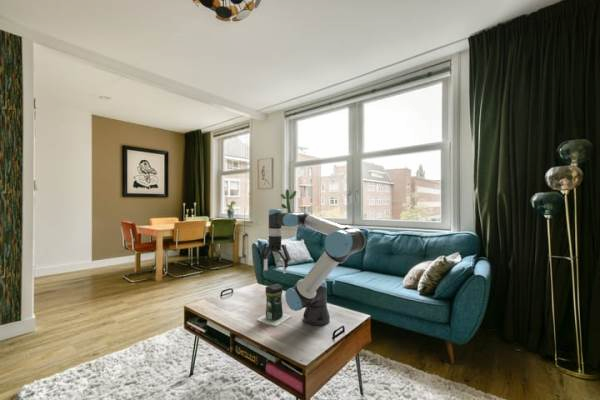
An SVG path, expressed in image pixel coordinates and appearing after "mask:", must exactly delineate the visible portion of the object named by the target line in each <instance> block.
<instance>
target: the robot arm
mask: <svg viewBox="0 0 600 400" xmlns="http://www.w3.org/2000/svg"><path fill="white" fill-rule="evenodd" d="M297 226H304V227H306V228H309V229H310V230H313V231H316V232H319V233H321V234H323V235H326V238H325V241H324V243H325V244H324V247H323V250H324V252H323V253H322V254H321V256H320V257H319V258H318V260H317V261H316V262H315V264H313V266H312V268H310V270H309V271H308V273H307V274H306V275H305V277H304V278H301V279H299V280H297V282H296V283H295V285H294V286H292V287H289V288H288V289H286V291H285V294H284V296H285V297H284V298H285V302H286V304H287V306H288V308H289V309H290V310H292V311H294V312H297V311H301V310H302V309H304V312H303V316H302V320H303V322H304V323H305V324H307V325H309V326H310V325H311V326H324V325H327V324H328V323H330V322H331V316H330V313H329V310H328V305H327V303H328V301H327V300H328V298H327V297H328V292H327V291H328V286H327V281H326V279H327V278H328V277H329V276H330V274H331V273H332V272H333V271H334V269H335V268H336V267H337V266H338V265H339V264H343V263H345V261H346V260H347V259H348V258H349V257H350V256H351V255H353V254H357V253H359V252H361V251H362V250H363V249H364V248H365V246H366V244H367V237H366V235H365V233H364V232H363V231H362V230H361V229H359V228H357V227H354V226H350V225H345V226H344V225H341V224H338V223H335V222H333V221H330V220H327V219H323V218H321V217H318V216H315V215H312V213H311V212H309V211H299V212H282V209H280V208H271V209H270V208H269V211H268V242H264V244H263V247H262V251H261V253H260V256H259V257H260V259H262V265H263V272H264V271H268V261H269V260H268V257H269V255H270V254H271V253H272V252H277V254H279V256H280V257H281V259H282V260H283V261H282V274H287V273H288V267H289V262H291V260H292V259H291V256H290V254H289V252H288V249H287V244H285V243H284V244H282V227H287V228H293V227H297Z"/></svg>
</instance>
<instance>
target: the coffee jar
mask: <svg viewBox="0 0 600 400" xmlns="http://www.w3.org/2000/svg"><path fill="white" fill-rule="evenodd" d="M282 294H283V286H282V284H280V283H275V284H271V285H268V286H266V287H265V296H266V301H265V303H266V305H265V314H266V318H267V319H268V320H276V319H279V318H281V317H282V316H283V314H284V309H283V302H282Z"/></svg>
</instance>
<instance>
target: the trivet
mask: <svg viewBox="0 0 600 400" xmlns="http://www.w3.org/2000/svg"><path fill="white" fill-rule="evenodd" d="M291 318H292V315H288V314H286V313H283V316H282V317H281V318H279V319H276V320H268V319H267V318H266V313H265V314H263V315H262V316H260V317H259V318H257V319H256V321H257V322H260V323H262V324H266V325H269V326H273V327H275V328H276V327H279V326H280V325H282V324H283V323H285V322H286V321H288V320H289V319H291Z"/></svg>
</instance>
